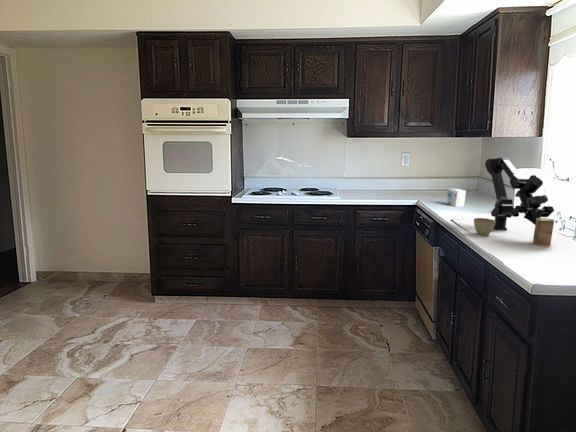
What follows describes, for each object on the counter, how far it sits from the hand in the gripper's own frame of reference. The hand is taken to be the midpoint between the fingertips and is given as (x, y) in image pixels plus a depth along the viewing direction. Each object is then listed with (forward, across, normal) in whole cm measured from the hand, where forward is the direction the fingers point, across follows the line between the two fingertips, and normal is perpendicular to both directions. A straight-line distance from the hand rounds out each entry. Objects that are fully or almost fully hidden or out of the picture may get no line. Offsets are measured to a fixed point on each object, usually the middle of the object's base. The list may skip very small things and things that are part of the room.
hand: (539, 226), depth 219 cm
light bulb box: (-67, +12, +77) cm, 102 cm away
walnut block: (+8, 0, +3) cm, 8 cm away
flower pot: (-6, -18, +17) cm, 25 cm away
